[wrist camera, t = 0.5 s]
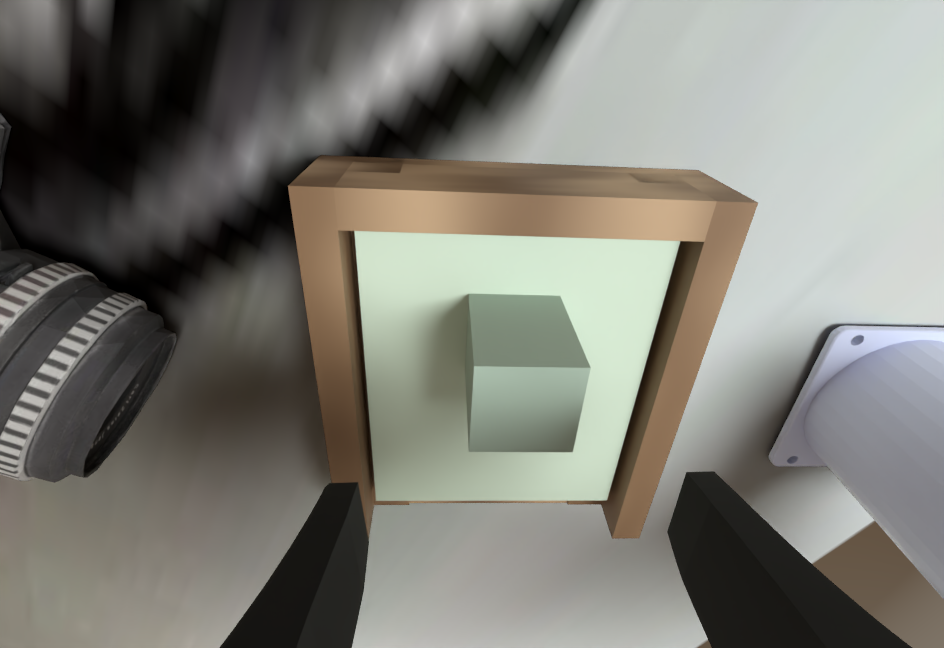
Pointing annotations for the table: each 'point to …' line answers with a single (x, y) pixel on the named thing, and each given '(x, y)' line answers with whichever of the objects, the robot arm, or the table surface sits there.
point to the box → (516, 214)
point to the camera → (68, 361)
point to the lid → (504, 360)
